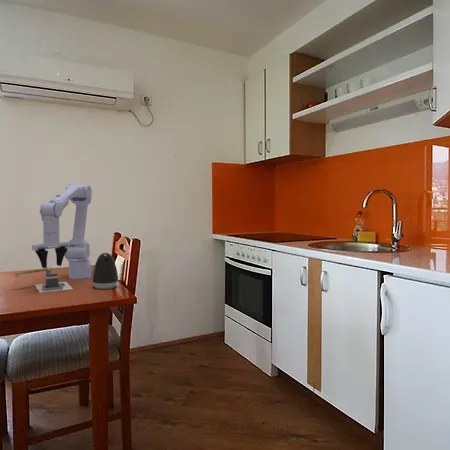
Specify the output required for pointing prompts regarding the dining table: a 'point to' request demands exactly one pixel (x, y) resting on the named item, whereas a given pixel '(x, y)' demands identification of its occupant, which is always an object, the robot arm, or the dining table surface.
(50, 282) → the plug
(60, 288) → the lever mounting base
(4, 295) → the dining table surface
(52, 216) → the robot arm
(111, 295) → the dining table surface
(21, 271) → the lever handle
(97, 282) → the black rounded cone
